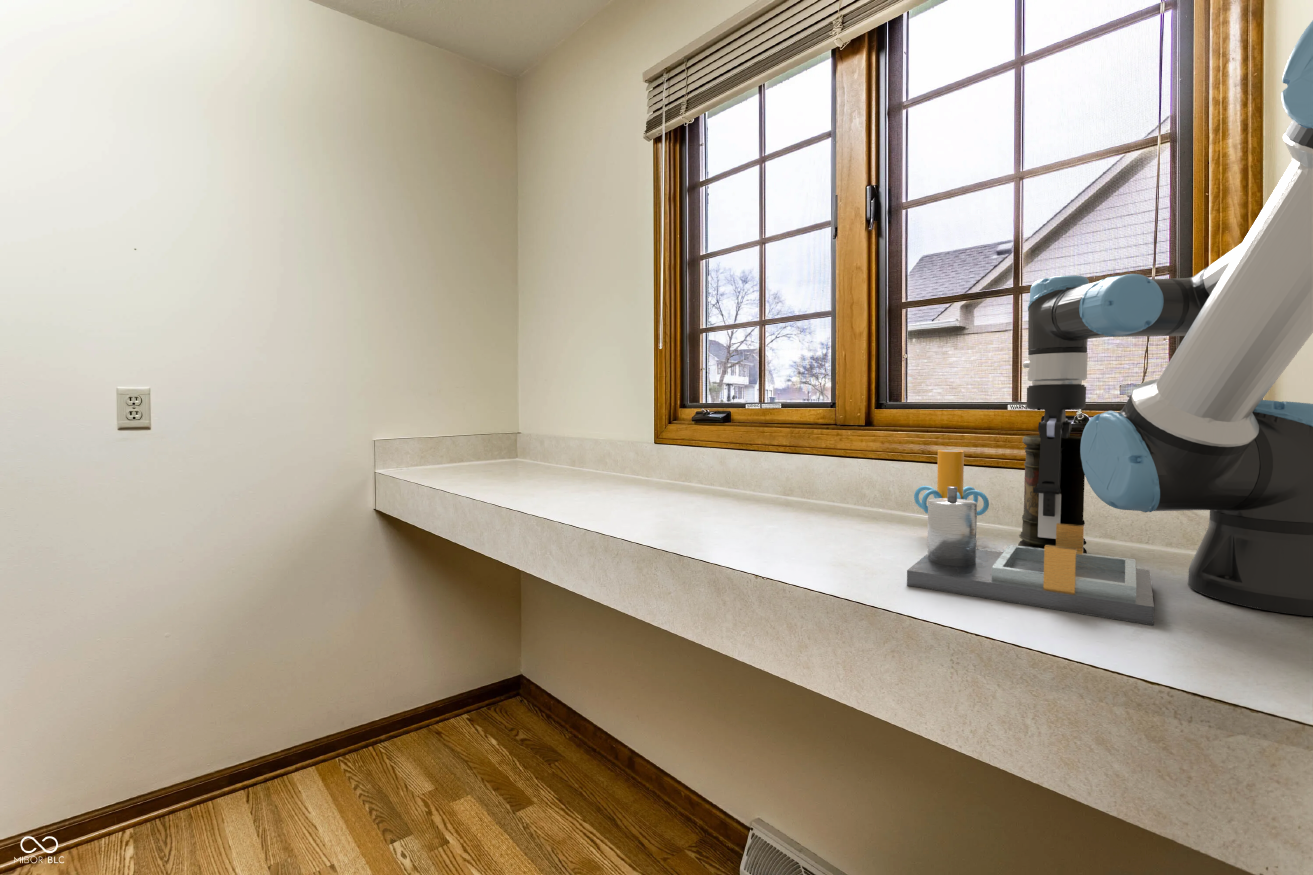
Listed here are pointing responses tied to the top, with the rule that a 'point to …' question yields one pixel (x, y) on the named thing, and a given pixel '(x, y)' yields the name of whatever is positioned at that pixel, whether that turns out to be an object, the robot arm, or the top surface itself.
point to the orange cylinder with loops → (950, 481)
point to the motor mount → (1029, 569)
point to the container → (1070, 493)
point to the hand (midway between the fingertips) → (1051, 531)
